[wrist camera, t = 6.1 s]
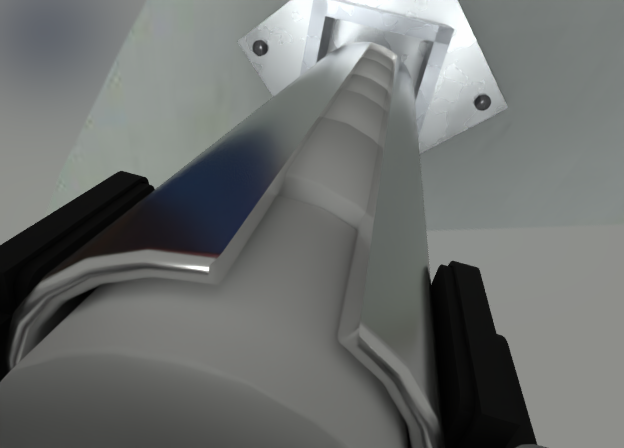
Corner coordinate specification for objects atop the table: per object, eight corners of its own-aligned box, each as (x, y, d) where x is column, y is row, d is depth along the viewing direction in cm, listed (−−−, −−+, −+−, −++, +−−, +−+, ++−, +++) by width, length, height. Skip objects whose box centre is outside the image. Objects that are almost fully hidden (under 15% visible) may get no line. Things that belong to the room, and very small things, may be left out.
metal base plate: (412, -92, 31) (414, -110, 26) (505, 105, 36) (523, 123, 30) (240, 40, 37) (214, 47, 32) (339, 192, 42) (330, 220, 37)
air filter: (434, 111, 27) (563, 636, 5) (347, 166, 29) (180, 663, 8) (376, 16, 25) (168, 180, 3) (288, 84, 28) (-150, 426, 6)
